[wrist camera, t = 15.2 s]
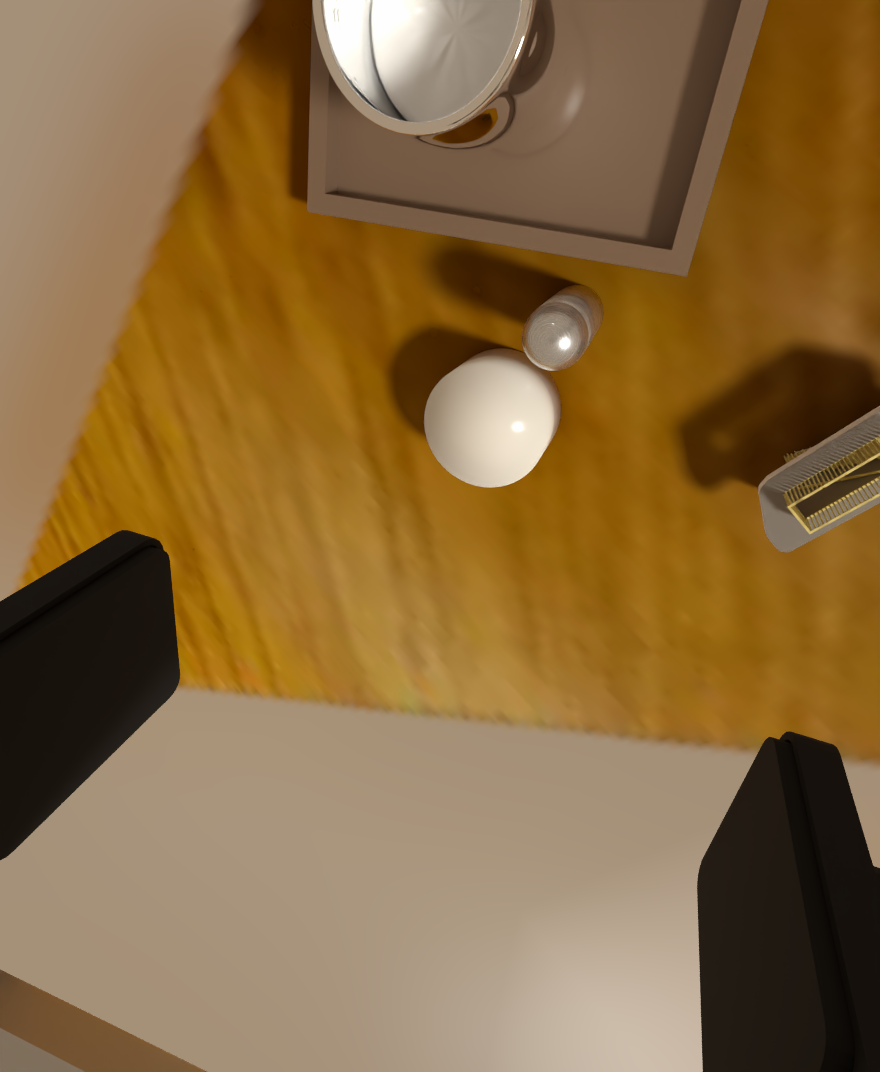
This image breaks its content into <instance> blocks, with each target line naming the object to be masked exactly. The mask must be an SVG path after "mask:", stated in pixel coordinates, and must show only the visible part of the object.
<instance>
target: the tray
mask: <svg viewBox="0 0 880 1072" xmlns="http://www.w3.org/2000/svg"><path fill="white" fill-rule="evenodd" d="M767 3H768V0H569V9H570V15H571V17H572V18H573V19H574V20H575V22H576V23H577V25H578V26H579V28H580V30H581V32H582V34H583V37H584V40H585V43H586V47H587V51H588V58H589V81H588V87H587V92H586V96H585V99H584V102H583V105H582V107H581V109H580V111H579V113H578V115H577V117H576V119H575V120H574V122H573V123H572V125H571V126H570V128H569V129H568V130H567V131H566V132H565V133H564V134H563V135H562V137H560V138H559V139H558V140H557V141H556V142H554V143H553V144H552V145H550V146H548V147H547V148H545V149H543V150H541V151H538V152H535V153H532V154H527V155H511V154H506V153H503V152H500V151H498V150H496V149H494V148H492V149H489V150H485V151H481V152H474V153H459V152H448V151H441V150H437V149H433V148H430V147H427V146H424V145H421V144H418V143H416V142H413V141H411V140H409V139H407V138H405V137H403V136H401V135H399V134H397V133H395V132H393V131H390V130H387V129H385V128H383V127H381V126H379V125H377V124H375V123H373V122H372V121H370V120H369V119H367V118H366V117H365V116H363V115H362V114H361V113H360V112H359V111H358V110H356V109H355V108H354V107H353V106H352V104H351V103H350V102H349V101H348V100H347V99H346V98H345V96H344V95H343V94H342V92H341V91H340V89H339V88H338V86H337V85H336V83H335V81H334V80H333V78H332V76H331V74H330V72H329V70H328V68H327V65H326V63H325V61H324V58H323V55H322V52H321V49H320V46H319V42H318V38H317V34H316V29H315V23H314V16H313V4H312V28H311V69H310V111H309V152H308V194H307V212H312V213H317V214H323V215H329V216H335V217H341V218H347V219H353V220H358V221H364V222H370V223H376V224H382V225H388V226H394V227H400V228H405V229H411V230H417V231H423V232H429V233H435V234H441V235H446V236H452V237H458V238H464V239H470V240H476V241H482V242H488V243H493V244H499V245H505V246H511V247H517V248H523V249H529V250H534V251H540V252H546V253H552V254H558V255H564V256H570V257H576V258H581V259H587V260H593V261H599V262H605V263H611V264H617V265H622V266H628V267H634V268H640V269H646V270H652V271H658V272H664V273H669V274H675V275H681V276H687V274H688V271H689V267H690V264H691V261H692V257H693V254H694V250H695V247H696V244H697V240H698V237H699V234H700V230H701V227H702V223H703V220H704V217H705V213H706V210H707V206H708V203H709V200H710V196H711V193H712V190H713V186H714V183H715V179H716V176H717V173H718V169H719V166H720V162H721V159H722V156H723V152H724V149H725V146H726V142H727V139H728V135H729V132H730V129H731V125H732V122H733V118H734V115H735V112H736V108H737V105H738V102H739V98H740V95H741V91H742V88H743V85H744V81H745V78H746V74H747V71H748V68H749V64H750V61H751V58H752V54H753V51H754V47H755V44H756V41H757V37H758V34H759V30H760V27H761V24H762V20H763V17H764V14H765V10H766V7H767Z"/></svg>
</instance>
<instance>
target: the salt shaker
mask: <svg viewBox="0 0 880 1072" xmlns="http://www.w3.org/2000/svg"><path fill="white" fill-rule="evenodd" d="M602 320H603V305H602V302H601V299H600V297H599V296H598V295H597V293H596V292H595V291H593V290H592V289H590V288H589V287H586V286H583V285H571V286H567V287H565V288H563V289H562V290H560V291H559V292H558V293H556V294H555V295H554V296H552V297H551V298H550V299H548V300H547V301H546V302H545V303H543V304H542V305H541V306H539V307H538V308H537V309H536V310H534V311H533V312H532V313H531V314H530V316H529V317H528V319H527V320H526V322H525V325H524V327H523V331H522V344H523V348H524V351H525V353H526V355H527V357H528V358H529V359H530V361H531V362H532V363H534V364H535V365H536V366H538V367H540V368H542V369H545V370H550V371H557V370H562V369H566V368H568V367H570V366H572V365H573V364H574V363H576V362H577V361H578V360H579V359H580V358H581V356H582V355H583V353H584V352H585V350H586V349H587V347H588V345H589V344H590V342H591V340H592V339H593V337H594V335H595V334H596V332H597V330H598V329H599V327H600V325H601V323H602Z"/></svg>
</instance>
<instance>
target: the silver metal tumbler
mask: <svg viewBox="0 0 880 1072" xmlns="http://www.w3.org/2000/svg"><path fill="white" fill-rule="evenodd" d="M312 4H313V16H314V23H315V29H316V34H317V38H318V42H319V46H320V49H321V52H322V55H323V58H324V61H325V63H326V65H327V68H328V70H329V72H330V74H331V76H332V78H333V80H334V81H335V83H336V85H337V86H338V88H339V89H340V91H341V92H342V94H343V95H344V96H345V98H346V99H347V100H348V101H349V102H350V103H351V104H352V106H353V107H354V108H355V109H356V110H358V111H359V112H360V113H361V114H362V115H363V116H365V117H366V118H367V119H369V120H370V121H372V122H373V123H375V124H377V125H379V126H381V127H383V128H385V129H387V130H390V131H393V132H395V133H397V134H399V135H401V136H403V137H405V138H407V139H409V140H411V141H413V142H416V143H418V144H421V145H424V146H427V147H430V148H433V149H437V150H441V151H448V152H459V153H474V152H481V151H485V150H489V149H492V148H494V149H496V150H498V151H500V152H503V153H506V154H511V155H527V154H532V153H535V152H538V151H541V150H543V149H545V148H547V147H548V146H550V145H552V144H553V143H554V142H556V141H557V140H558V139H559V138H560V137H562V135H563V134H564V133H565V132H566V131H567V130H568V129H569V128H570V126H571V125H572V123H573V122H574V120H575V119H576V117H577V115H578V113H579V111H580V109H581V107H582V105H583V102H584V99H585V96H586V92H587V87H588V81H589V58H588V51H587V47H586V43H585V40H584V37H583V34H582V32H581V30H580V28H579V26H578V25H577V23H576V22H575V20H574V19H573V18H572V17H571V15H570V9H569V0H312Z"/></svg>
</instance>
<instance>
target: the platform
mask: <svg viewBox="0 0 880 1072" xmlns="http://www.w3.org/2000/svg"><path fill="white" fill-rule="evenodd" d="M794 452H795V453H794V454H793V453H791V454H790V455H789V454H788V453H787V457H786V456H785V455H783V456H784V459H785V461H786V464H785V465H783V466H782V467H780V468H778V469H777V470H775V471H774V472H772V473H770V474H769V475H767V476H766V477H765V479H764V480H763V481H762V482H761V483H760V484H759V487H758V493H759V499H760V505H761V511H762V517H763V523H764V529H765V533H766V536H767V537H768V539H769V540H770V541H771V542H772V543H773V545H774V546H775V547H776V548H777V549H778V550H779V551H781V552H790V551H792V550H794V549H796V548H798V547H800V546H801V545H803V544H805V543H807V542H809V541H811V540H812V539H814V538H816V537H818V536H820V535H822V534H824V533H825V532H827V531H829V530H831V529H833V528H835V527H836V526H838V525H840V524H842V523H844V522H846V521H847V520H849V519H851V518H853V517H855V516H857V515H858V514H860V513H862V512H864V511H866V510H868V509H869V508H871V507H873V506H875V505H877V504H879V503H880V406H878V407H877V408H875V409H873V410H872V411H870V412H869V413H867V414H865V415H864V416H862V417H861V418H859V419H857V420H856V421H854V422H852V423H851V424H849V425H848V426H846V427H844V428H843V429H841V430H840V431H838V432H836V433H835V434H833V435H832V436H830V437H828V438H827V439H825V440H823V441H822V442H820V443H819V444H817V445H815V446H814V447H811V446H810V448H808V449H805V450H804V449H802V450H801V451H798V452H796V451H794Z"/></svg>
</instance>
